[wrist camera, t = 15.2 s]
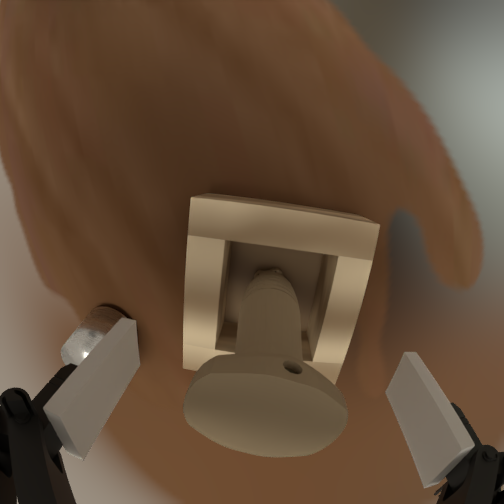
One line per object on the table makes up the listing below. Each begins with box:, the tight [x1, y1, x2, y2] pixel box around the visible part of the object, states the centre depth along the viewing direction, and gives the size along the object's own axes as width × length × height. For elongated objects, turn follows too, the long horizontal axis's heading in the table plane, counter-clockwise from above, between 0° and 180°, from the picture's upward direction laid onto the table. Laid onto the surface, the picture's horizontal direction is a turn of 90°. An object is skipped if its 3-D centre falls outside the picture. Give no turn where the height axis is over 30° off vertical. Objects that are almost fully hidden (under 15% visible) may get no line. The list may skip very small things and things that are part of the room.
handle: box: [183, 267, 348, 457], centre depth 17 cm, size 5×6×15 cm
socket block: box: [183, 193, 380, 385], centre depth 22 cm, size 14×12×5 cm
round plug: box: [61, 306, 138, 366], centre depth 24 cm, size 6×6×6 cm
